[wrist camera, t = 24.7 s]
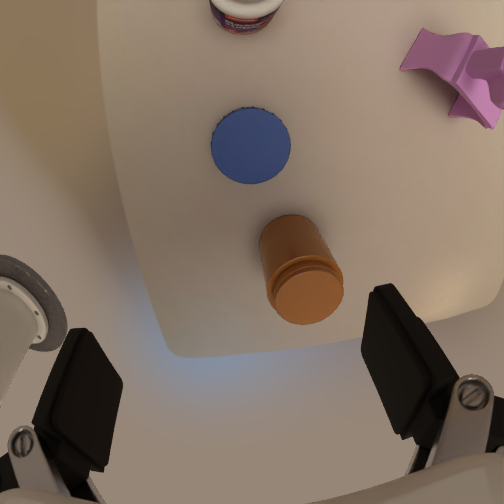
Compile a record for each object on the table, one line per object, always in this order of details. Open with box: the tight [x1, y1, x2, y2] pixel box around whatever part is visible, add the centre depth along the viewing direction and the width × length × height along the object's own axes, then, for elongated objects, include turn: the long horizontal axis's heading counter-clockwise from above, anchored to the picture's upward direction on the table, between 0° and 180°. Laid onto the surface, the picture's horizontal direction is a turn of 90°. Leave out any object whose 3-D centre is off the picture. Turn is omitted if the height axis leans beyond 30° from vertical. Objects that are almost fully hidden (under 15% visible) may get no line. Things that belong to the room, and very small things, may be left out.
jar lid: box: [211, 107, 291, 184], centre depth 26 cm, size 7×7×2 cm
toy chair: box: [400, 29, 504, 129], centre depth 16 cm, size 8×9×15 cm
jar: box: [259, 215, 343, 325], centre depth 28 cm, size 7×7×9 cm
